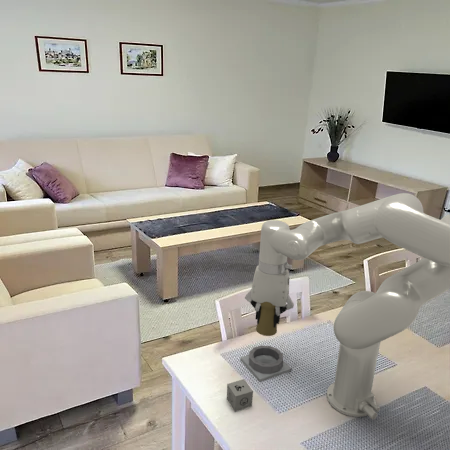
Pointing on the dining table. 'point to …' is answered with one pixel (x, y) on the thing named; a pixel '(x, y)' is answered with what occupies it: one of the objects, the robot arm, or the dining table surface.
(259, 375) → the ring board
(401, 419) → the dining table surface
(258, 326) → the brown round-headed peg
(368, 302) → the robot arm
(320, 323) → the dining table surface
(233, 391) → the dice cube
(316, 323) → the dining table surface
